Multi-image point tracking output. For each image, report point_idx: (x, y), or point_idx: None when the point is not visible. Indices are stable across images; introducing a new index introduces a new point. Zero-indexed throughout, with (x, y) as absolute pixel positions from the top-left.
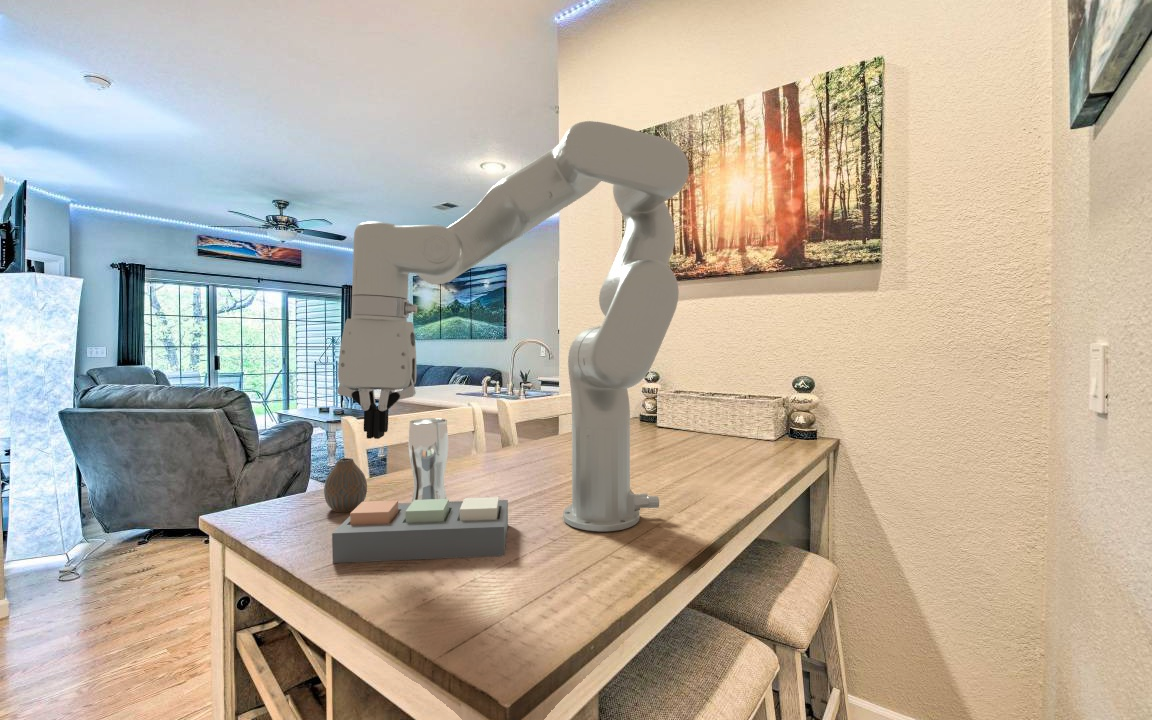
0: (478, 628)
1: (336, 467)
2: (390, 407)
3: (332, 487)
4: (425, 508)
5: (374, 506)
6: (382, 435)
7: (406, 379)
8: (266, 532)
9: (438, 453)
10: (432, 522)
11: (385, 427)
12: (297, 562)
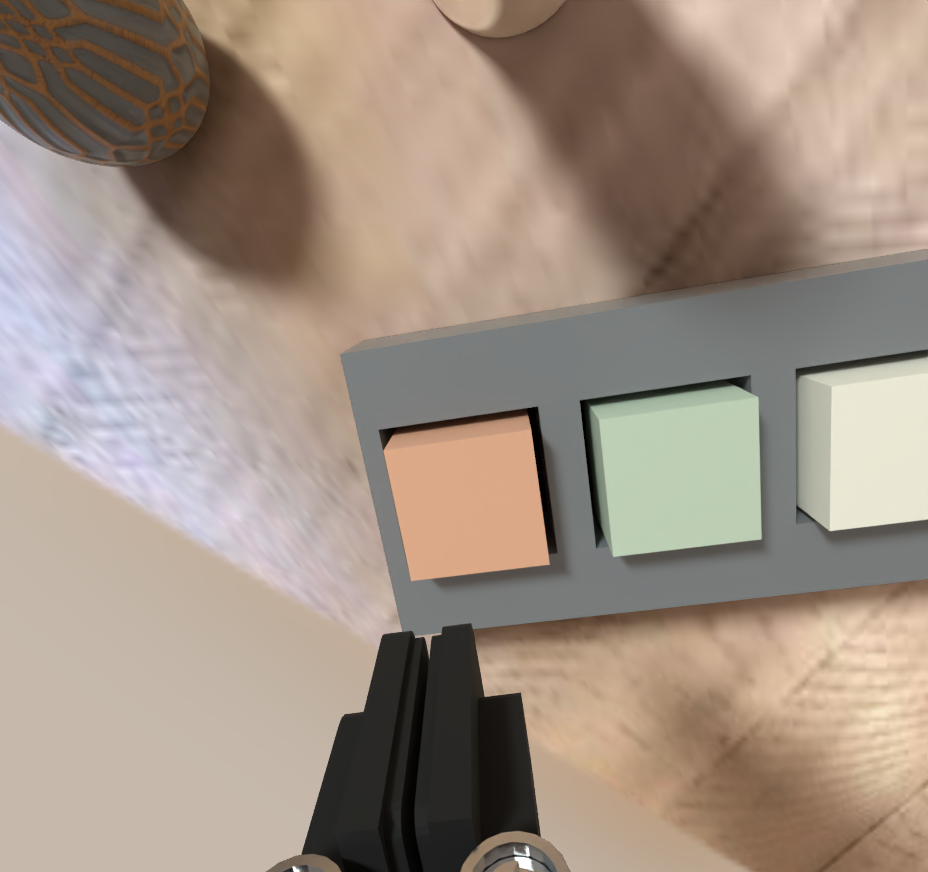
0: (857, 827)
1: None
2: (556, 861)
3: (64, 153)
4: (684, 525)
5: (465, 509)
6: (478, 664)
7: None
8: (50, 378)
9: None
10: None
11: (532, 774)
12: (317, 582)
